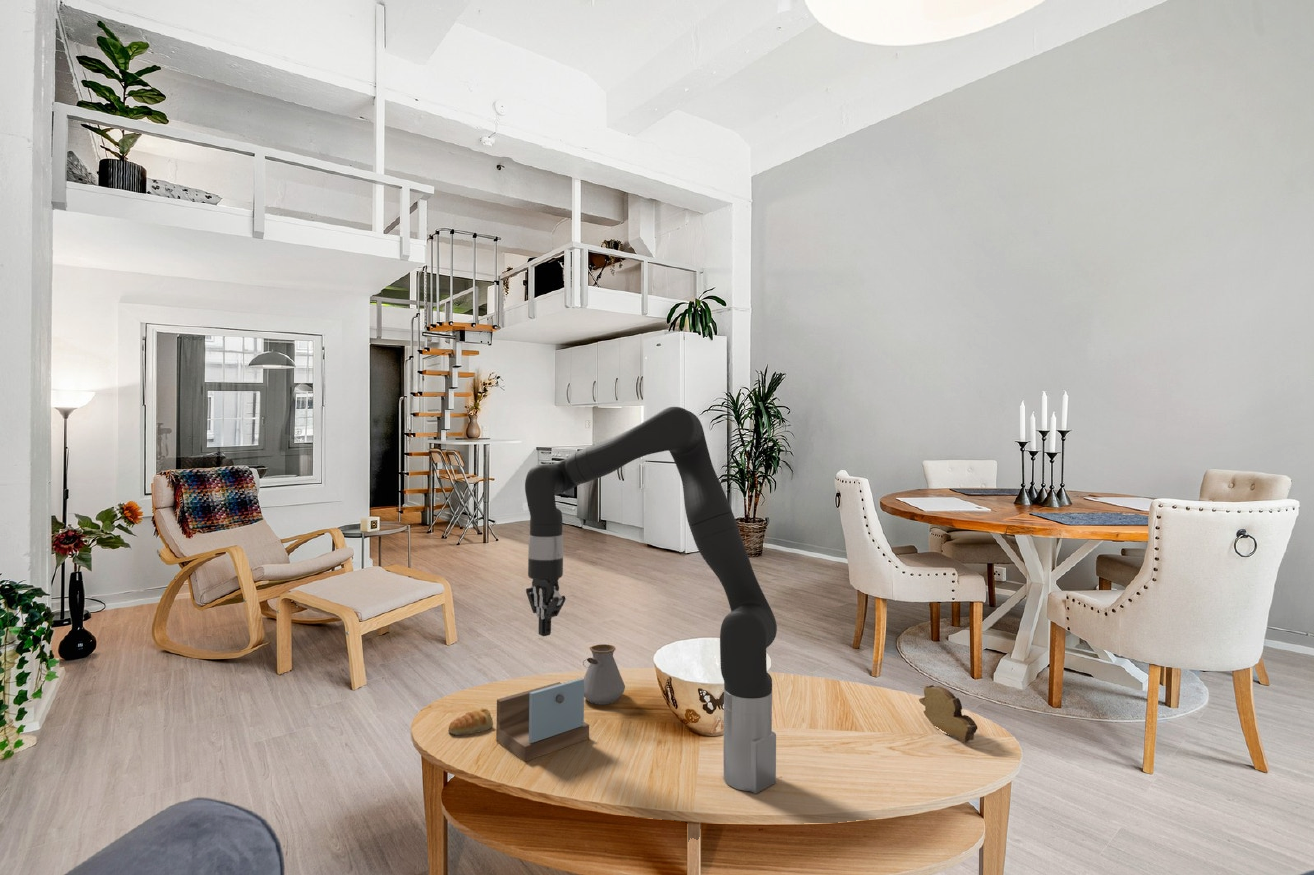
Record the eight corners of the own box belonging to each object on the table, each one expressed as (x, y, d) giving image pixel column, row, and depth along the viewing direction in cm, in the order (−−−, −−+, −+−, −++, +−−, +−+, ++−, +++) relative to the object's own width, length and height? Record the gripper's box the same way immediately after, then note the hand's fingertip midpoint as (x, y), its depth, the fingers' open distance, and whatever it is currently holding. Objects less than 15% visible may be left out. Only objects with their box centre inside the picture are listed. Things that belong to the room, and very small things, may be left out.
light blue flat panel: (528, 741, 132) (529, 692, 132) (581, 723, 140) (581, 678, 140) (533, 744, 130) (534, 695, 130) (585, 726, 139) (586, 680, 139)
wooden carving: (984, 747, 138) (984, 700, 139) (968, 750, 137) (968, 703, 137) (928, 717, 154) (928, 675, 154) (912, 719, 152) (912, 677, 153)
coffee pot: (586, 688, 170) (587, 632, 170) (629, 691, 168) (629, 634, 168) (562, 722, 148) (563, 657, 149) (610, 726, 147) (611, 660, 147)
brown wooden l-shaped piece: (589, 738, 140) (589, 697, 141) (524, 761, 130) (525, 717, 130) (558, 720, 149) (559, 682, 150) (496, 741, 139) (496, 699, 139)
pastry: (455, 741, 139) (455, 723, 139) (443, 730, 144) (443, 713, 144) (495, 729, 145) (495, 712, 145) (482, 719, 150) (482, 703, 151)
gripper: (577, 557, 138) (576, 638, 138) (544, 550, 148) (543, 625, 147) (547, 561, 133) (546, 645, 133) (515, 553, 143) (514, 631, 142)
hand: (544, 635), depth 140 cm, fingers closed
